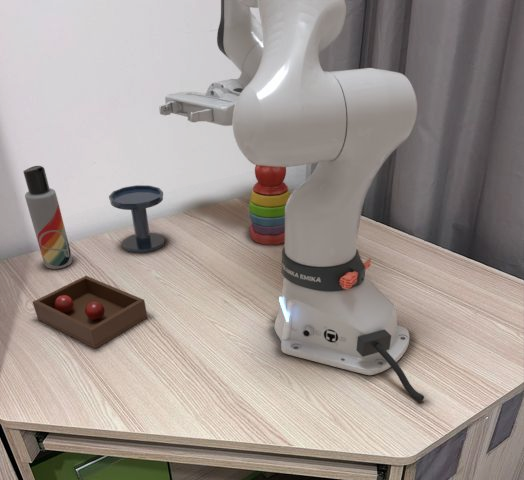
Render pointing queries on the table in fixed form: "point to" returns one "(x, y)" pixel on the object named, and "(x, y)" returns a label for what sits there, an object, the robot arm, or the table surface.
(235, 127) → the robot arm
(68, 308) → the ball
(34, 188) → the lotion bottle
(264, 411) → the table surface
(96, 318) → the ball
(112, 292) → the walnut tray
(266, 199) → the stacking bear
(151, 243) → the footed dish
